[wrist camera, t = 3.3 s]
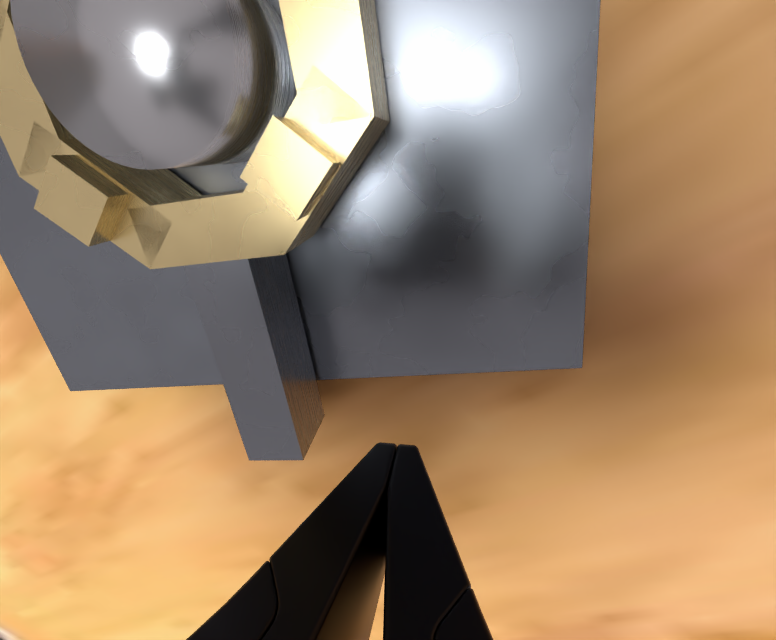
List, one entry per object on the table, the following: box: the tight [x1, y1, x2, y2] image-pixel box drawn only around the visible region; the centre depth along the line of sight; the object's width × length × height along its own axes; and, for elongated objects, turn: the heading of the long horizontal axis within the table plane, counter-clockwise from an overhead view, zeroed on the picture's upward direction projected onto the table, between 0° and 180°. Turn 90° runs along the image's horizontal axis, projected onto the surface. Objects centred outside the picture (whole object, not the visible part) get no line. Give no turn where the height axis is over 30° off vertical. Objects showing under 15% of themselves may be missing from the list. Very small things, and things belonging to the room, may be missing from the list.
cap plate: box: [0, 0, 600, 391], centre depth 11 cm, size 21×21×5 cm
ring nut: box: [0, 0, 390, 460], centre depth 11 cm, size 17×10×3 cm, turn 8°
